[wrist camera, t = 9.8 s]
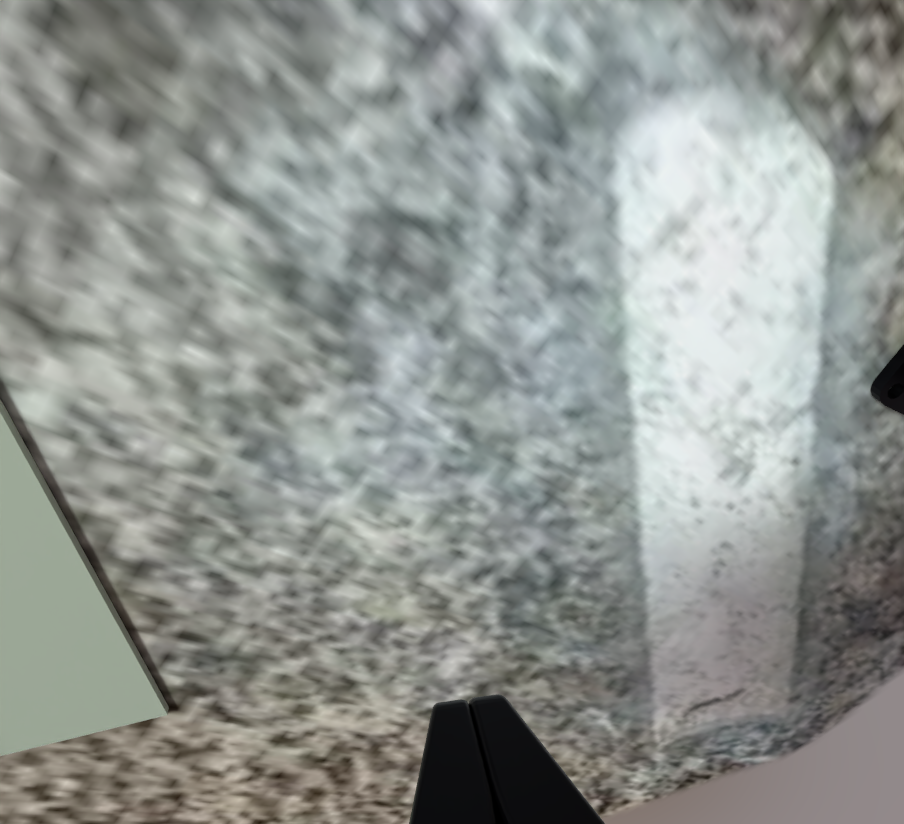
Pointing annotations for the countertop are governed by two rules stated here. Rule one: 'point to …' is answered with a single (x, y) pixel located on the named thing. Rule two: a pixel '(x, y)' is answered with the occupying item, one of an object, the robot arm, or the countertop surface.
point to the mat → (57, 622)
